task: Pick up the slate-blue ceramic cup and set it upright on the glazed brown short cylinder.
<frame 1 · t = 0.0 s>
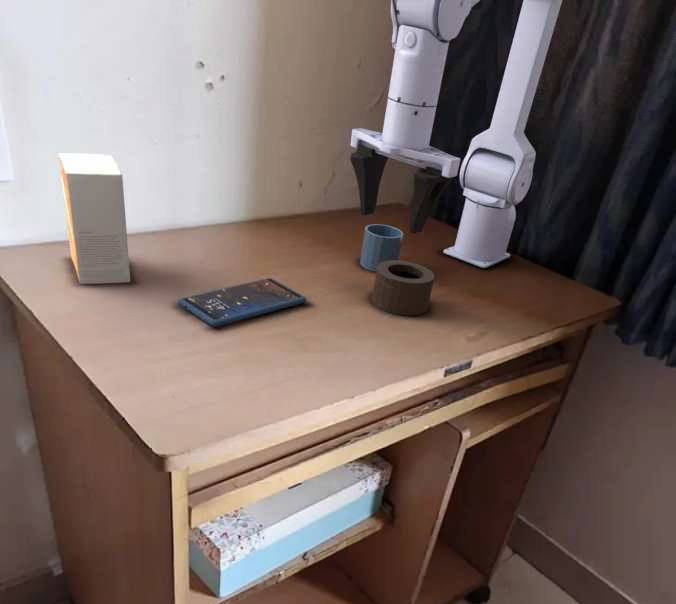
hand: (391, 222, 85), 10 cm above the table, tool pointing down, fingers open, 7 cm apart
small box: (100, 272, 86), on the table
cup: (378, 265, 101), on the table
smartphone: (243, 305, 84), on the table
brown short cylinder: (399, 303, 91), on the table
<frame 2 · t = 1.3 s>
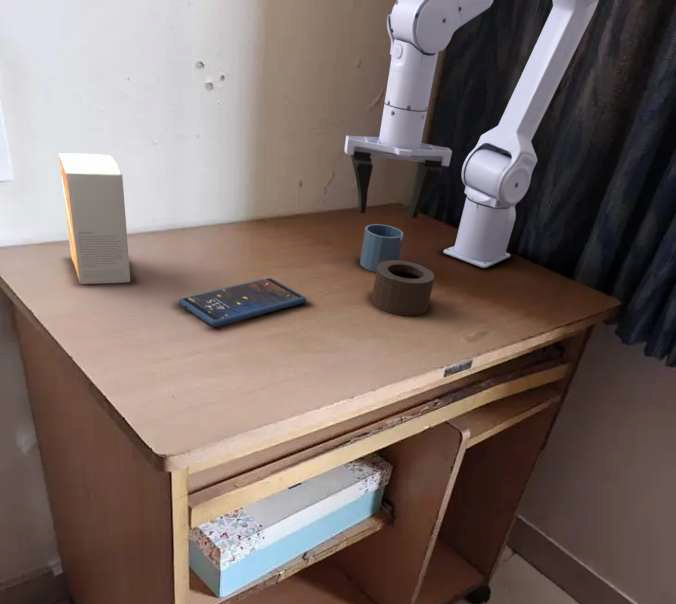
hand: (387, 213, 96), 8 cm above the table, tool pointing down, fingers open, 7 cm apart
nothing on the table moved.
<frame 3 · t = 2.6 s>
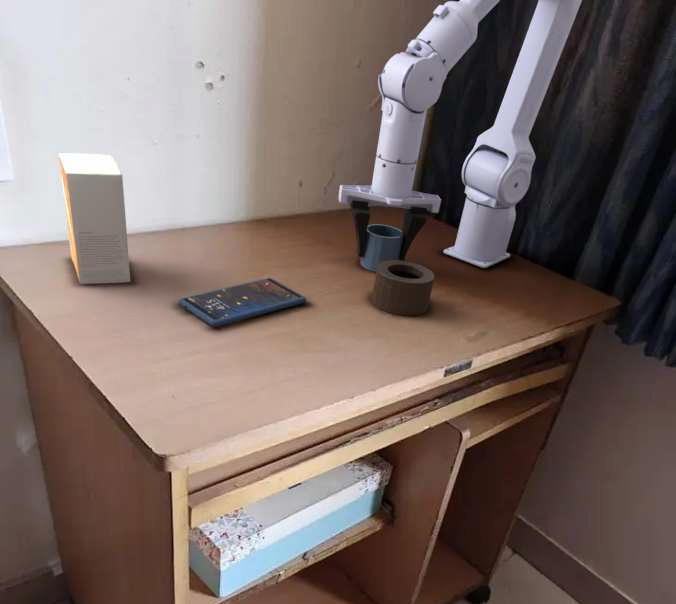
hand: (379, 256, 100), 1 cm above the table, tool pointing down, fingers closed on cup, 6 cm apart
cup: (378, 265, 101), on the table, touching gripper
everything else where it was.
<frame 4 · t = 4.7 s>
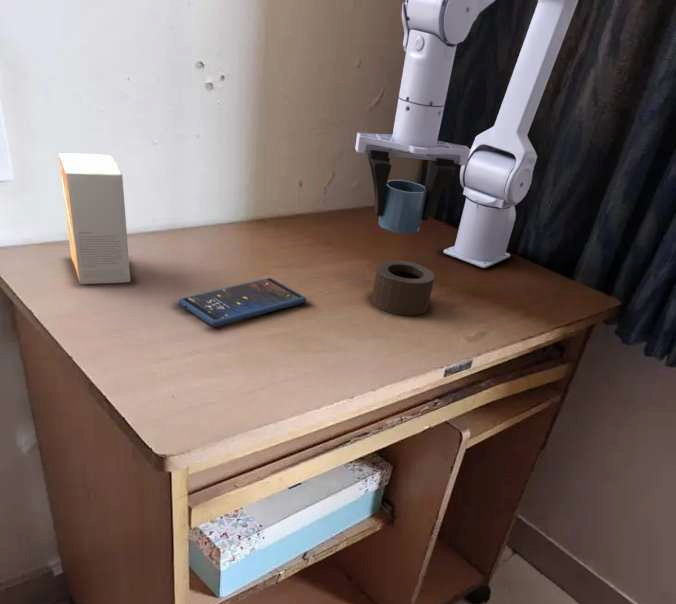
hand: (400, 215, 90), 9 cm above the table, tool pointing down, fingers closed on cup, 6 cm apart
cup: (398, 226, 91), point 8 cm above the table, touching gripper
everything else where it was.
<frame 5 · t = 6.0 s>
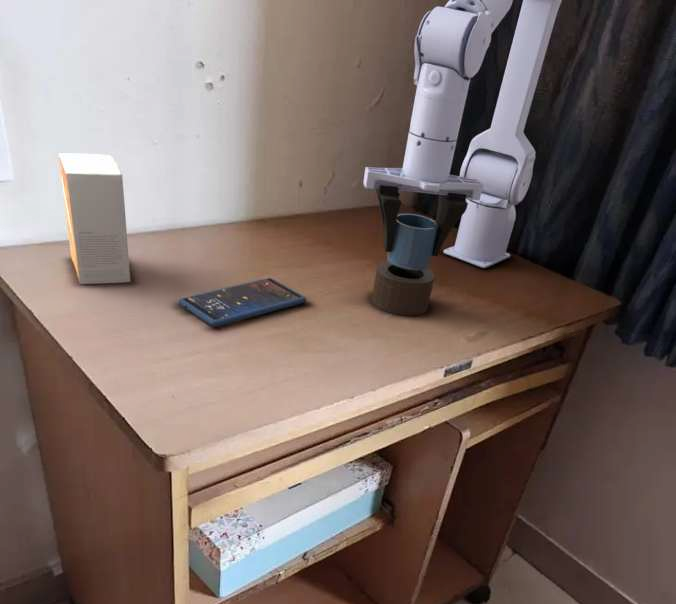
hand: (409, 251, 86), 7 cm above the table, tool pointing down, fingers closed on cup, 6 cm apart
cup: (408, 261, 87), point 6 cm above the table, touching gripper
everything else where it was.
when the fingers open (6 cm above the table, at t = 7.0 s): cup stays where it is, resting on brown short cylinder.
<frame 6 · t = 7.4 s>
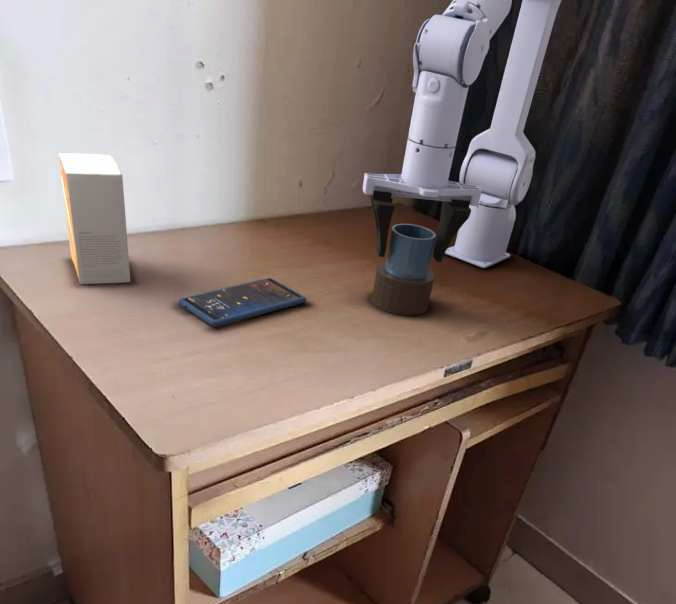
hand: (408, 256, 87), 6 cm above the table, tool pointing down, fingers open, 7 cm apart
cup: (405, 271, 88), point 4 cm above the table, touching brown short cylinder
everything else where it was.
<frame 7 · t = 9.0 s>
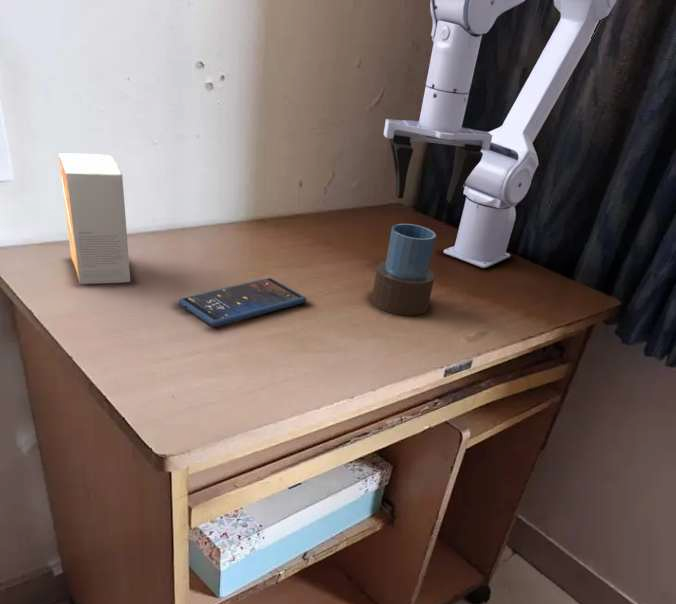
hand: (424, 199, 95), 10 cm above the table, tool pointing down, fingers open, 7 cm apart
nothing on the table moved.
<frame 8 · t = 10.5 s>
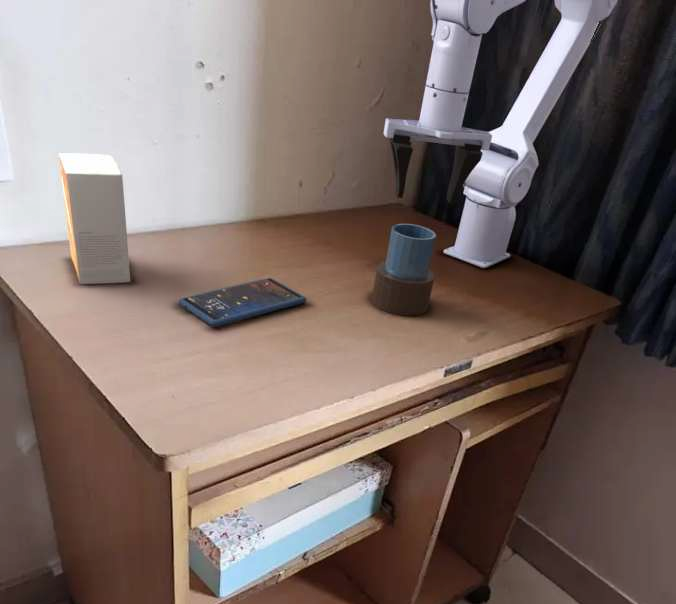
hand: (424, 198, 95), 10 cm above the table, tool pointing down, fingers open, 7 cm apart
nothing on the table moved.
at the end: cup 0.0 cm off-centre on the brown short cylinder, point 4.5 cm above the brown short cylinder's base; cup tilted 0°; the gripper is holding nothing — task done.
